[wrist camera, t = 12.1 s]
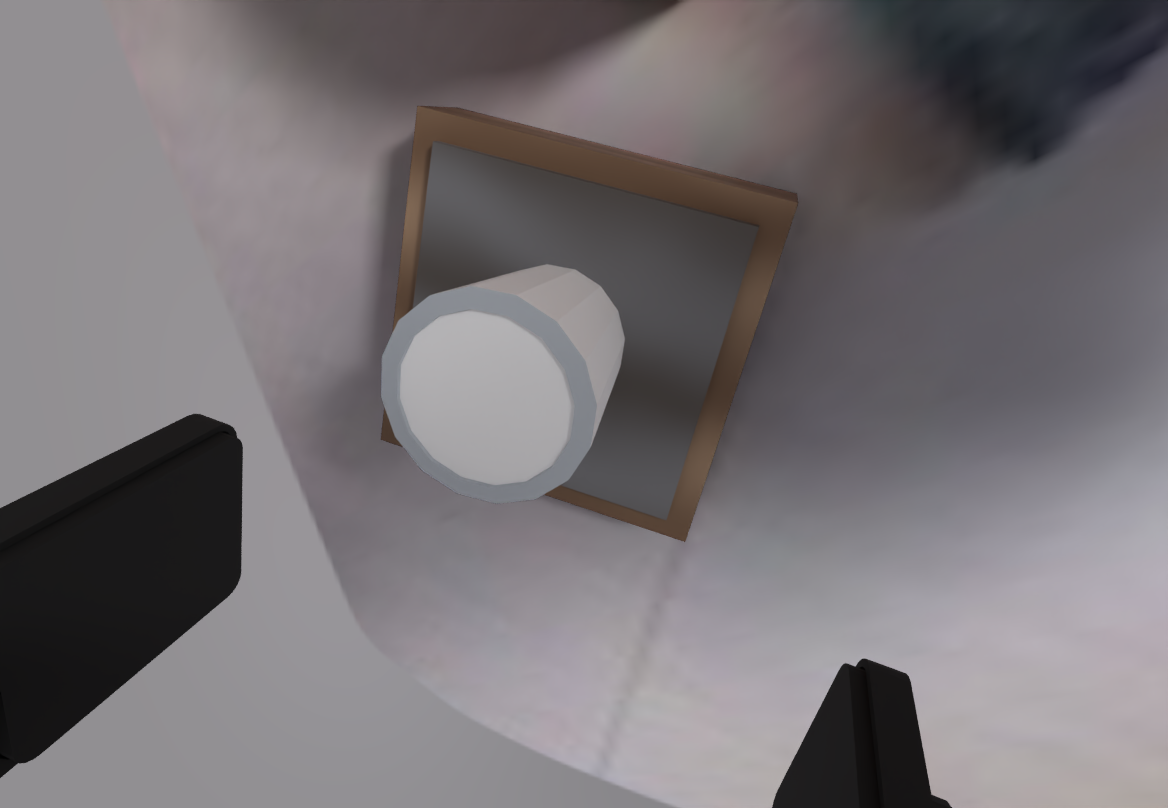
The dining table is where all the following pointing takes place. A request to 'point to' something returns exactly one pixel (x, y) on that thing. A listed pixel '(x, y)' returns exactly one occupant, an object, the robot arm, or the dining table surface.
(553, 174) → the tray
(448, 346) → the shot glass
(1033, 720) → the dining table surface
